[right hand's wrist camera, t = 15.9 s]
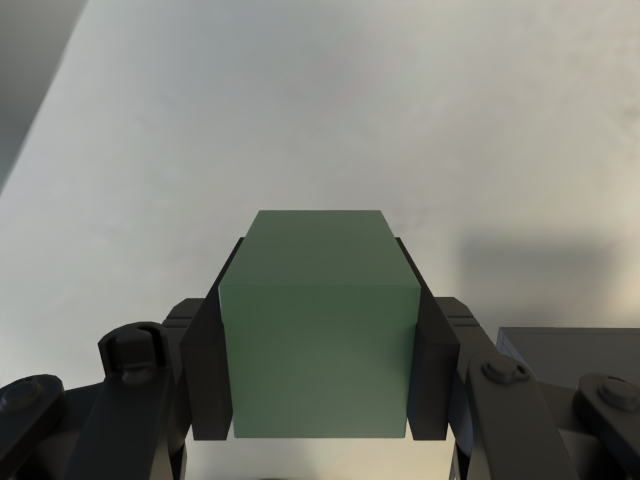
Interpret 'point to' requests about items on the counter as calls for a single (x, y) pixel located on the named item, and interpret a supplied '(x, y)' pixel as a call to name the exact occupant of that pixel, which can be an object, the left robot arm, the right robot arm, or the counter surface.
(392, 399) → the green block
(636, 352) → the bin
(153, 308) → the counter surface
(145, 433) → the right robot arm
